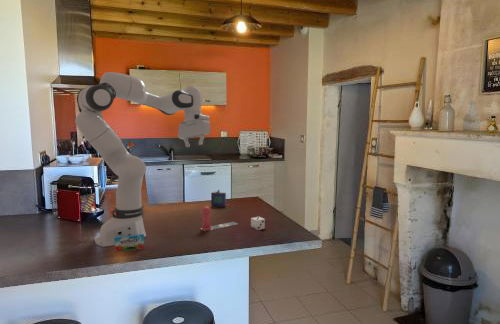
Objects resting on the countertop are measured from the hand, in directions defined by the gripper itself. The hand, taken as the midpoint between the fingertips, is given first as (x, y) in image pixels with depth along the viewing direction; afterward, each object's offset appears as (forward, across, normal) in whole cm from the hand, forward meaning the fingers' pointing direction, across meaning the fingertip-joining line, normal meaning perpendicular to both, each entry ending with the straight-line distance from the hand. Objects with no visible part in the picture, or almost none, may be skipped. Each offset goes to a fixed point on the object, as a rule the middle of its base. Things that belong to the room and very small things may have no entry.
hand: (194, 145), depth 179 cm
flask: (+32, -22, +41) cm, 57 cm away
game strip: (+42, +6, +11) cm, 44 cm away
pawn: (+42, +4, +4) cm, 42 cm away
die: (+43, +21, +23) cm, 53 cm away
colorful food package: (+48, -6, -34) cm, 59 cm away
